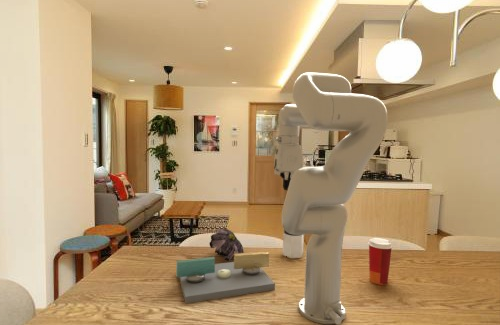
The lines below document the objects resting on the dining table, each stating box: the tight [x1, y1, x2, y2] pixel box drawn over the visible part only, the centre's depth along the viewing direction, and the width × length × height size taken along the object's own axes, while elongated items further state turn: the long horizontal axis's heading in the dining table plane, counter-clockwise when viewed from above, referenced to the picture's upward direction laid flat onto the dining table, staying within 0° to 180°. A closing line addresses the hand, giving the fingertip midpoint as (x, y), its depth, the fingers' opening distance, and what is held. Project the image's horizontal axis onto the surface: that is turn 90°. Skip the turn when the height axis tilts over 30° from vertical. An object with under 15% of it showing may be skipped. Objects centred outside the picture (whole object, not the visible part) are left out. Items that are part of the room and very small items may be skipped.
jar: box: [282, 228, 305, 259], centre depth 122 cm, size 9×8×12 cm
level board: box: [178, 261, 276, 304], centre depth 98 cm, size 20×28×4 cm
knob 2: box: [233, 251, 270, 275], centre depth 100 cm, size 12×6×6 cm, turn 102°
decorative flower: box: [209, 228, 245, 262], centre depth 119 cm, size 15×12×15 cm
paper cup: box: [367, 237, 394, 286], centre depth 100 cm, size 8×8×14 cm
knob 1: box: [175, 256, 216, 283], centre depth 94 cm, size 12×6×6 cm, turn 110°
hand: (287, 189), depth 110 cm, fingers closed
